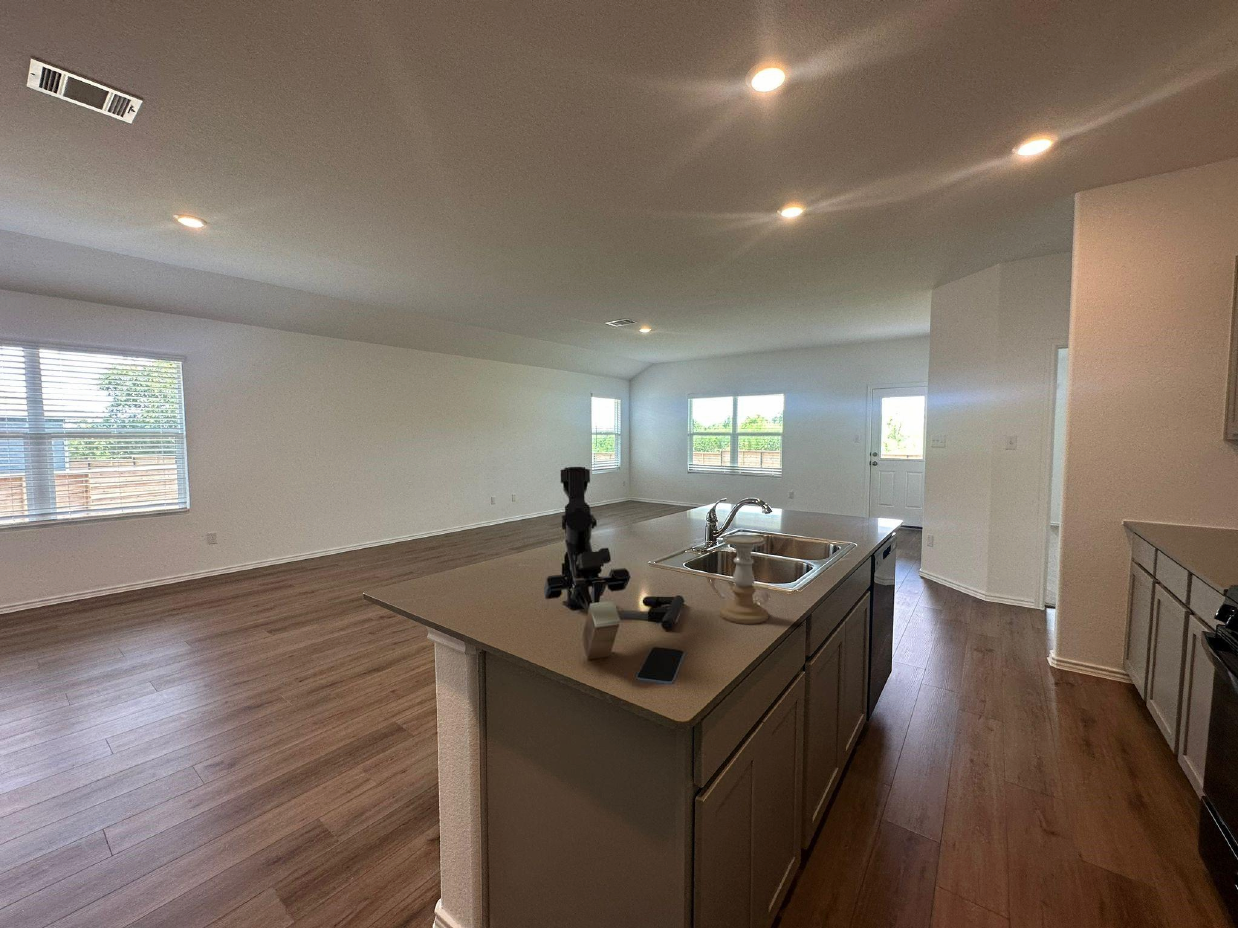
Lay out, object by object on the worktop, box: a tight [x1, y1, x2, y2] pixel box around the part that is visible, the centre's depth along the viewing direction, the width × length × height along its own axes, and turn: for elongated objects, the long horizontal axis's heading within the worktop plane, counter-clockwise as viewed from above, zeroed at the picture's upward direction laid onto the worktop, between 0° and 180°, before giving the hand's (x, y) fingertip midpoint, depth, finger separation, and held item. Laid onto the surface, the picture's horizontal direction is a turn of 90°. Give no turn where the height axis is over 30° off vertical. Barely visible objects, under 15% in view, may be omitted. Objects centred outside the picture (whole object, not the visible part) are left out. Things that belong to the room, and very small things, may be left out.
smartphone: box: [635, 646, 686, 685], centre depth 102 cm, size 7×1×15 cm
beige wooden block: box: [581, 600, 621, 660], centre depth 104 cm, size 5×5×12 cm
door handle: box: [618, 595, 688, 631], centre depth 131 cm, size 3×20×16 cm
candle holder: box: [718, 534, 769, 625], centre depth 129 cm, size 12×12×20 cm
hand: (595, 618), depth 107 cm, fingers closed
